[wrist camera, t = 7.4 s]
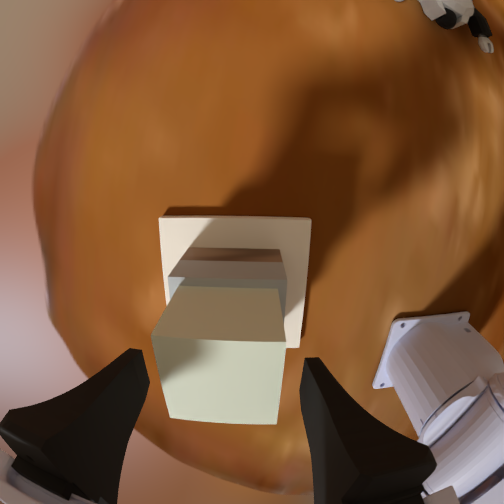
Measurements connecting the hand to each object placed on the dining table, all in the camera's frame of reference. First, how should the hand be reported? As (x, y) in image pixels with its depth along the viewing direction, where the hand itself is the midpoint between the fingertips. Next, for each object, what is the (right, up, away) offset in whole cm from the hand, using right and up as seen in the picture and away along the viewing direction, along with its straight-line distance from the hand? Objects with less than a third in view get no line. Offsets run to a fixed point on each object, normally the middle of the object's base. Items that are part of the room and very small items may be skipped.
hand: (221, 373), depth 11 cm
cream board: (0, +3, +9) cm, 9 cm away
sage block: (0, +1, +3) cm, 3 cm away
